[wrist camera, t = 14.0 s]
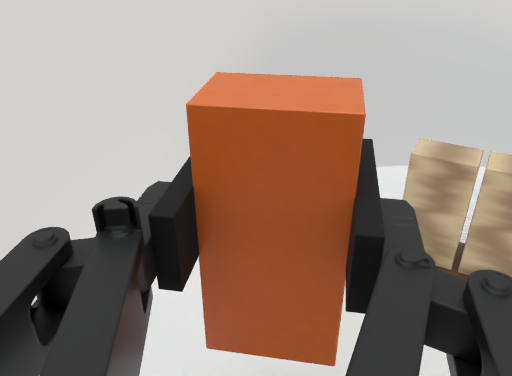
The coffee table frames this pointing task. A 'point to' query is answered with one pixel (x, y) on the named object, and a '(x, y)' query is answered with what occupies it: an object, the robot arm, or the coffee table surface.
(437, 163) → the wooden block rack
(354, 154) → the orange rectangular prism
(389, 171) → the coffee table surface
